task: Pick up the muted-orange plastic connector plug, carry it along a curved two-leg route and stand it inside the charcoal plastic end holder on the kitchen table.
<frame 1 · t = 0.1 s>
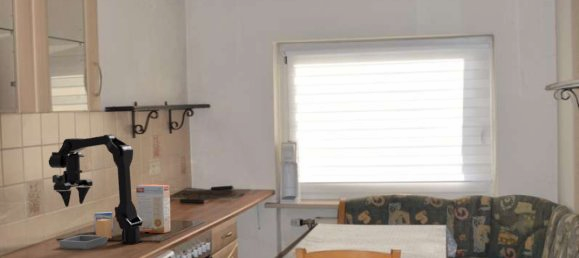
hand: (74, 205, 299), 15 cm above the counter, tool pointing down, fingers open, 9 cm apart
connector plug: (104, 238, 300), on the counter
cracker box: (154, 232, 314), on the counter
end holder: (83, 245, 284), on the counter
medicine box: (103, 232, 318), on the counter
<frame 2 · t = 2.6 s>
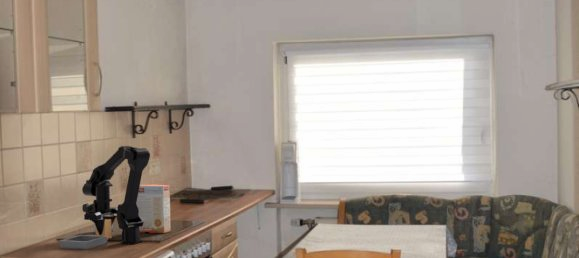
hand: (103, 233, 300), 2 cm above the counter, tool pointing down, fingers closed on connector plug, 4 cm apart
connector plug: (104, 238, 300), on the counter, touching gripper
everything else where it was.
when the fingers open (4 cm above the counter, at t = 9.0 s): connector plug drops 1 cm, resting on end holder.
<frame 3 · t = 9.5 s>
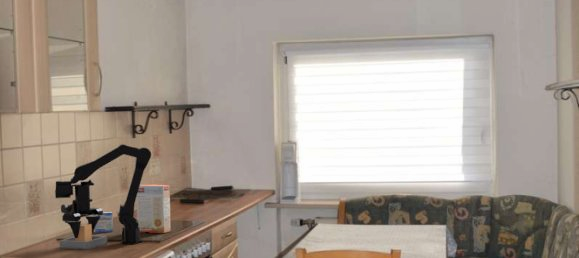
hand: (83, 235, 284), 4 cm above the counter, tool pointing down, fingers open, 9 cm apart
connector plug: (83, 244, 284), resting on end holder
everything else where it was.
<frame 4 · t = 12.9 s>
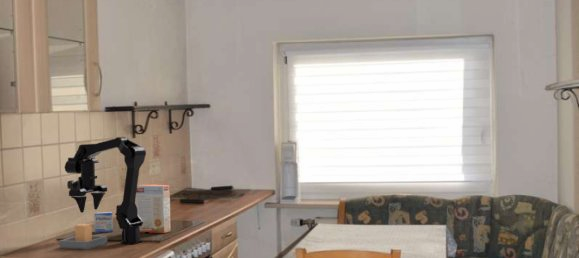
hand: (89, 210, 299), 12 cm above the counter, tool pointing down, fingers open, 9 cm apart
nothing on the counter moved.
at the end: connector plug 0.0 cm off-centre on the end holder, point 0.5 cm above the end holder's base; connector plug tilted 0°; the gripper is holding nothing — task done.
